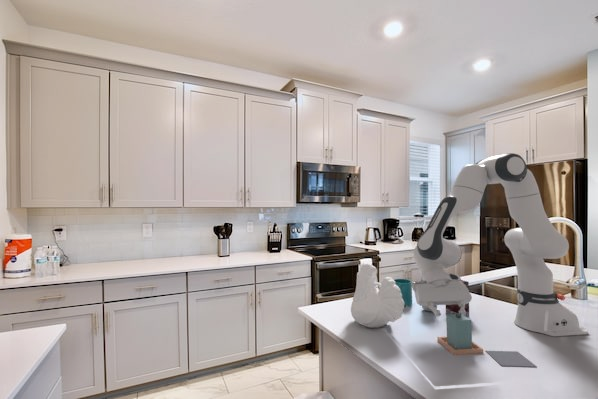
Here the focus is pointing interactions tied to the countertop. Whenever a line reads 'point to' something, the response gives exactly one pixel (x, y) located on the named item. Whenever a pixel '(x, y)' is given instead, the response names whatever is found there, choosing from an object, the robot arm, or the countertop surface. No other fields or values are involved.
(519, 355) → the mat
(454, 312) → the supplement box
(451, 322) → the cover
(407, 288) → the cup
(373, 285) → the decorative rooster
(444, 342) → the dish
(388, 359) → the countertop surface
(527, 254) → the robot arm
